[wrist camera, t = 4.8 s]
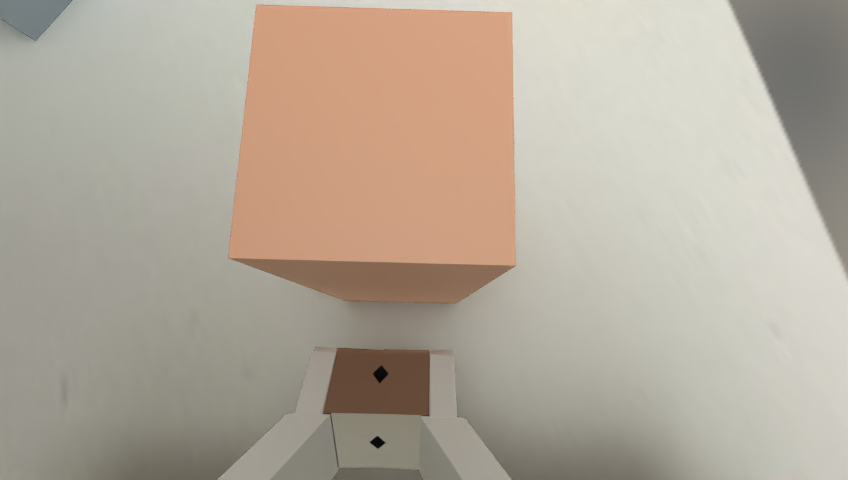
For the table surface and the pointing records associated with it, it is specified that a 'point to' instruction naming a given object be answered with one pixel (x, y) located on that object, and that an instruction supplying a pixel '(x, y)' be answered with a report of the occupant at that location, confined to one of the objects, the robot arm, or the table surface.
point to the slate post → (31, 14)
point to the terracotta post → (378, 152)
